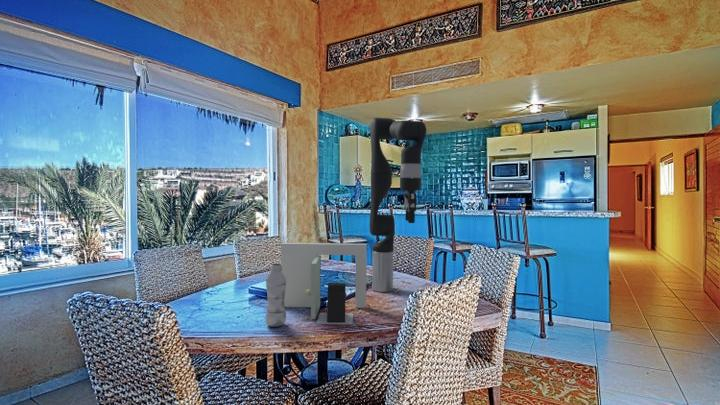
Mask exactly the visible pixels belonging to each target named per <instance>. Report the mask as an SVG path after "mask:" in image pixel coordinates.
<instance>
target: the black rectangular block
mask: <svg viewBox="0 0 720 405" xmlns="http://www.w3.org/2000/svg"><path fill="white" fill-rule="evenodd" d="M326 310H327V312H326V313H327V322H345V313H346V283H345V282H343V283H342V282H341V283H339V282H335V283H334V282H328V283H327V309H326Z"/></svg>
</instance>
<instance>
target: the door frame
mask: <svg viewBox="0 0 720 405" xmlns="http://www.w3.org/2000/svg"><path fill="white" fill-rule="evenodd" d="M367 245H368V244H367V243H333V242H331V243H327V242H326V243H323V242H322V243H320V242H319V243H317V242H316V243H315V242H308V243H307V242H281V244H280V264H282V271H281V272H282V273H283V274H284V276H285V277H286V280H287V281H286V289H285V297H284V298H285V300H284V301H285V308H310V320H316V319H317V320H316V325H354V312H353V313H351V312H345V322H327V312H320V313H319V310H320V308H321V290H322V288H321V287H322V286H321V282H322V280H321V279H322V278H321V274H322V272H321V270H322V269H321V268H322V266H321V265H322V263H321V262H322V260H321V258H322V256H323V255H324V256H325V255H326V256H330V255H331V256H355V288H354V290H355V291H354V292H355V295H354V296H355V299H354V300H355V302H354V304H355V305H354V306H355V309H366V308H367V257H368V256H367V252H368V251H367V248H368V246H367ZM317 315H318V317H317Z"/></svg>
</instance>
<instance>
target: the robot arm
mask: <svg viewBox="0 0 720 405" xmlns="http://www.w3.org/2000/svg"><path fill="white" fill-rule="evenodd" d="M426 135H427V125H426V124H425V123H424V121H419V120H402V119H401V120H395V119H393V118H388V117H387V118H385V117H373V118H372V119H371V121H370V148H371V149H370V150H371V161H370V164H371V165H370V166H371V167H370V208H369V209H370V211H369V212H370V213H369V233H370V235H371V236H372V237H373V236H377V237H380V236H381V237H382V236H383V237H384V236H385V237H384V238H383V239H382V240H380V241H377V242H375V243H374V244H372V267H371V268H372V271H371V273H372V274H371V275H372V276H371V279H372V280H371V284H372V285H371V289H372V291H375V292H380V293H388V292H389V293H390V292H392V291H393V289H394V244H395V243H394V240H395V227H396V226H395V225H396V221H395V218H394V215H392V214H378V213H379V208H380V206H381V204H382V202H383V200H384V198H385V197H386V195H387V194H388V192H389V191H390V189H391V187H392V184H393V170H392V167H391V165H390V163H389V161H388V160H387V157H386V156H385V155H384V152H383V150H382V147H381V142H380V141H381V140H382V141H390V140H391V141H392V140H394V139H396V140H399V141H405V142H407V141H409V142H410V141H413V144H412V145H411V146H407V147H403V148H402V149H401V151H400V153H401V154H400V156H401V157H400V171H399V173H400V174H399V176H400V177H399V179H400V180H399V189H400V191H406V192H405V193H404V196H403V198H404V202H403V204H404V207H403V208H404V210H405V221H406V222H408V223H409V224H415V220H416V219H415V218H416V215H415V214H416V211H417V197H418V196H417V193H416V191H421V189H422V165H421V164H422V163H421V162H422V160H421V159H422V158H421V157H422V150H423V146H424V142H425V139H426Z"/></svg>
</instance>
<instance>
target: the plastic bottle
mask: <svg viewBox="0 0 720 405" xmlns="http://www.w3.org/2000/svg"><path fill="white" fill-rule="evenodd" d="M269 271H270V273H269V274H268V275H267V277H266V279H265V287H266V293H267V295H266V296H267V305H266V313H265V317H264V318H265V324H266V325H267V326H269V327H272V328H273V327H276V328H277V327H282V326H284V325H285V323H286V321H287V312H286V307H285V301H284V300H285V298H284V297H285V289H286V281H287V280H286V277H285V276H284V274H283V273H282V272H281V271H282V264H281V263H271V264H270V265H269Z"/></svg>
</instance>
